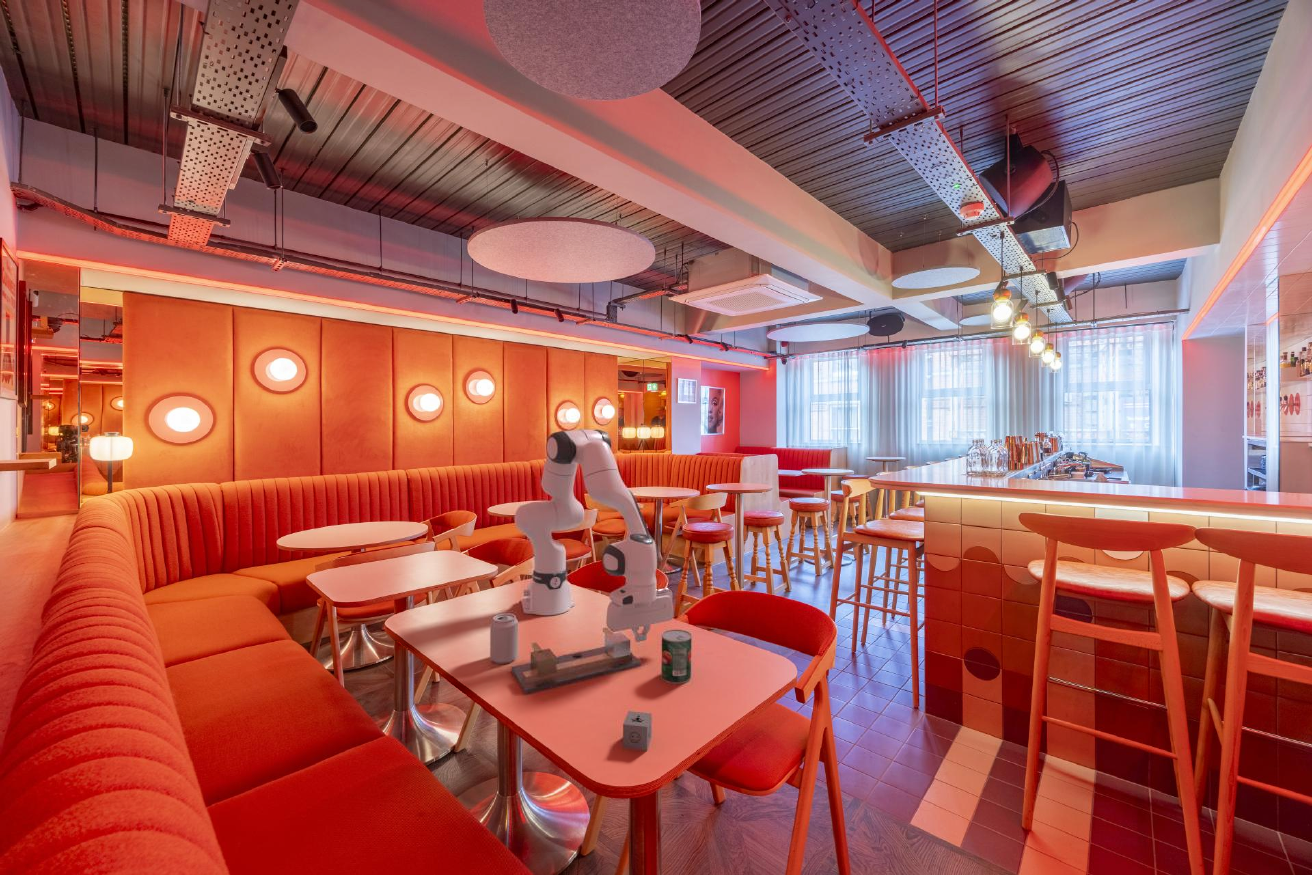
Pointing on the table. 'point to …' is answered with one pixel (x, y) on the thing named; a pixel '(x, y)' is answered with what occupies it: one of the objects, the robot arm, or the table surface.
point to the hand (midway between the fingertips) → (640, 640)
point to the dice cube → (637, 730)
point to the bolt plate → (574, 674)
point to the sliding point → (616, 644)
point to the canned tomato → (676, 656)
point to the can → (503, 638)
